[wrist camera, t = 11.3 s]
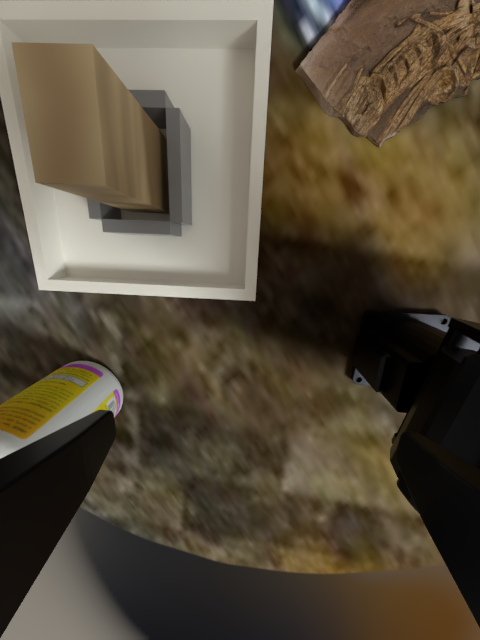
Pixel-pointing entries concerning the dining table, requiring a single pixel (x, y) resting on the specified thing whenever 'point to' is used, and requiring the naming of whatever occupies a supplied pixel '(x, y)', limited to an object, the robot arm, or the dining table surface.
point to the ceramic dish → (182, 145)
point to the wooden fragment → (393, 62)
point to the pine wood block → (89, 129)
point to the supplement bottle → (57, 403)
